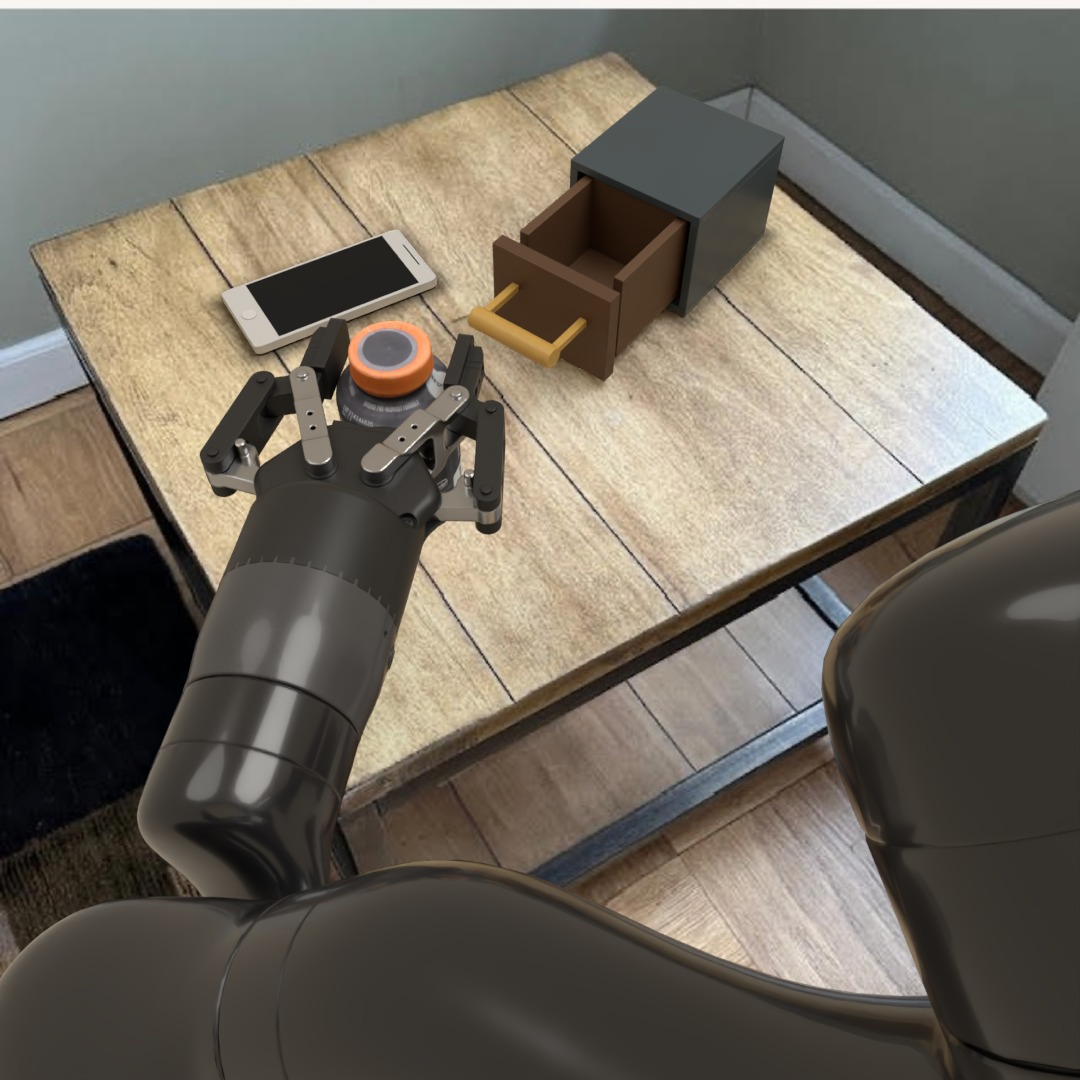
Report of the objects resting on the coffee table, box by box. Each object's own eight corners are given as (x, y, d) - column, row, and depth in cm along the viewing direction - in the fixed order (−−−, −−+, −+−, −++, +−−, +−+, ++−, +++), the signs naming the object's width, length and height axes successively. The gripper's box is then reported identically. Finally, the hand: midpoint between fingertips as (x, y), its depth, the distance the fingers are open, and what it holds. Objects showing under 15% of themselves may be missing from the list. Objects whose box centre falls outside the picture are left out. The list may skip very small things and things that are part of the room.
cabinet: (684, 317, 86) (700, 218, 78) (566, 258, 90) (570, 159, 82) (764, 235, 92) (785, 136, 84) (650, 184, 95) (660, 84, 88)
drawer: (564, 423, 78) (567, 344, 72) (453, 360, 81) (446, 280, 75) (687, 298, 86) (699, 217, 79) (581, 246, 89) (585, 164, 83)
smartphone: (222, 300, 86) (219, 291, 85) (398, 235, 91) (397, 226, 90) (257, 356, 83) (255, 347, 82) (438, 286, 87) (438, 277, 87)
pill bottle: (482, 476, 62) (474, 326, 53) (432, 553, 59) (414, 408, 49) (389, 441, 63) (366, 290, 54) (336, 515, 60) (302, 367, 51)
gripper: (473, 596, 41) (546, 297, 51) (110, 544, 43) (249, 262, 52) (481, 691, 47) (545, 407, 57) (164, 642, 49) (279, 374, 58)
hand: (403, 339), depth 55 cm, fingers closed on pill bottle, 6 cm apart
